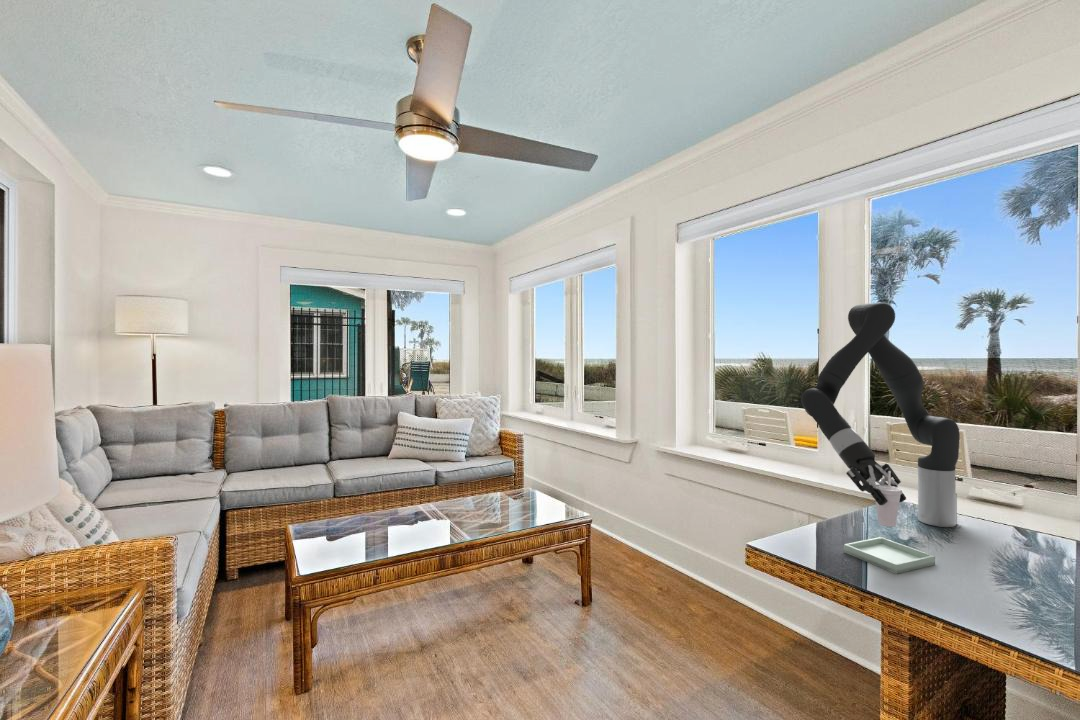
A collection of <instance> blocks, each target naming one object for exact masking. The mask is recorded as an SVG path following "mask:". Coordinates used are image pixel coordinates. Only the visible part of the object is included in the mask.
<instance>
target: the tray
mask: <svg viewBox="0 0 1080 720" xmlns="http://www.w3.org/2000/svg"><path fill="white" fill-rule="evenodd" d="M843 552H844V554H847V555H850V556H851V557H854V558H856V559H860V560H862V561H864V562H867V563H868V564H872V565H874V566H877V567H879V568H881V569H884V570H886V571H889V572H891V573H893V574H896V575H897V574H902V573H907V572H910V571H914V570H918V569H919V570H920V569H924V568H927V567H931V566H935V565H936V555H933V554H930V553H927V552H924V551H921V550H918V549H916V548H913V547H911V546H908V545H904V544H902V543H899V542H897V541H893V540H890V539H887V538H885V537H882V536H879V537H874V538H868V539H863V540H858V541H854V542H849V543H844V544H843Z"/></svg>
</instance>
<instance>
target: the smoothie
mask: <svg viewBox="0 0 1080 720" xmlns="http://www.w3.org/2000/svg"><path fill="white" fill-rule="evenodd" d="M891 479H892V478H891V471H888V481H887V483H888V485H880V484H876V486H877V488H876V489H879V490H880V491H881V493H882V494H883V495H884V497H885V498H886V499H887V503H885V504H884V505H879V504H878V503H877V502H876V500H875V499H874V501H875V508H876V514H877V521H878V525H880V526H882V527H889V528H894V527H896V525H897V519H898V512H899V508H900V503H901V502H900V495H901V494H902V493H903V489H902V488H900V487H895V486H891Z"/></svg>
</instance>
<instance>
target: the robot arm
mask: <svg viewBox="0 0 1080 720" xmlns="http://www.w3.org/2000/svg"><path fill="white" fill-rule="evenodd" d="M895 320H896V311H895V309H894V308H893V306H892V305H890V304H889V303H886V302H871V303H861V304H856V305H854V306H852V307H851V308H850V309H849V312H848V315H847V321H848V324H849V327H850V329H851V330H852V332H853V333H854V335H855V336H854V337H853V338H852V339H851V340H850V341H849V342H848V343H846V344H845V345H844V346H842V347H841V349H839V350H837V352H835V353H834V354H833V356H831V357H830V359H828V361H827V362H826V363H825V365H824V367H823V368H822V370H821V371H820V373H819V375H818V377H817V380H816V381H817V384H816V386H815V388H813V387H811V388H808V389H806V390H804V391H803V392H802V394H801V395H800V396H801V397H800V403H801V406H802V407H803V408H804V410H805V412H806V414H807V415H809V416H810V417H811V418H813V420H814V422H815V423H817V425H818V427H819V429H820V430H821V432H822V434H823V435H824V436H825V438H826V439H827V441H828V442H829V444H830V445H831V446H832V448H833V450H834V452H836V454H837V455H838V456H839V458H840V459H841V460H842V463H844V465H845V466H846V467H847V468H848V469H849V470H848V471H847V472H846V475H847V477H849V478H850V480H851V481H852V482H853V483H854V484H855V486H856V487H857V489H859V490H860V492H863V493H864V492H866V493H868V494H870V495H871V496H872V498H873V499H874V501H875V500H876V502H877V503H878V504H879V505H884V504H885V503H887V499H886V498H885V497H884V495H883V494H882V493H881V491H880V490H879V489H876V488H877V486H876V485H877V484H878V485H888V471H891V486H895V487H898V485H899V484H901V483H902V481H901V479H899V477H898V476H897V474H896V472H895V471H894V470H893V468H892V467H891V466H890V465H889V464H888V463H884V464H879V462H877V461H876V459H875V458H876V454H875V453H874V451H872V449H871V447H870V446H868V444H867V443H866V442H865V440H864V439H863V438H862V437H861V436H860V434H859V433H857V432H856V431H855V430H854V429H853V427H852V426H851V425H850V423H848V421H847V420H846V419H845V418H844V417H843V416H842V415H841V413H840V412H839V411H838V409H837V408H836V406H835V403H836V401H837V398H838V396H839V394H840V391H841V390H842V388H843V386H844V385H845V384H846V382H847V380H848V379H849V377H850V376H851V375H852V373H853V371H854V370H855V369H856V367H857V366H858V364H859V363H860V362H861V361H862V360H863V359H864V357H865V356H866V355H867V354H869V356H870V357H871V359H872V361H873V362H874V365H875V366H876V368H877V369H878V371H879V374H880V376H881V378H882V379H883V381H884V383H885V385H886V386H887V387H888V389H889V391H890V392H891V394H892V396H893V398H894V400H895V401H896V403H897V405H898V407H899V409H900V411H901V413H902V416H903V417H904V421H905V422H906V425H907V428H908V431H909V432H910V434H911V436H912V438H913V439H914V440H915V441H917V442H918V443H920V444H923V445H928V446H931V450H930V453H929V454H928V455H922V456H919V457H918V458H917V515H918V516H917V520H918V521H919V522H921V523H923V524H926V525H929V526H934V527H940V528H953V527H956V526H957V524H958V494H957V492H956V491H957V490H956V486H957V485H956V465H957V463H958V461H959V455H960V452H959V451H960V439H961V437H960V436H961V435H960V434H961V433H960V428H959V425H958V424H957V422H956V421H955V420H953V419H951V418H947V417H941V416H932V415H931V414H930V413H929V412H928V410H927V409H926V407H925V406H924V404H923V401H922V395H923V390H924V379H923V376H922V374H921V372H920V371H919V369H918V366H917V365H916V363H915V362H914V361H913V360H912V358H911V357H910V356H909V355H908V354H906V353H905V352H904V351H903V350H901V348H899V347H897V346H896V345H895V344H894V343H893V342H892V341H890V340H889V339H888V337H887V336H886V333H888V331H889V330H891V328H892V327H893V326H894V324H895ZM860 482H861V483H860ZM898 488H899V487H898ZM906 500H907V497H906V495H905V494H904V493H903V492H902V494H901V495H900V502H899V503H903V502H904V501H906ZM876 502H875V503H876Z"/></svg>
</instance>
